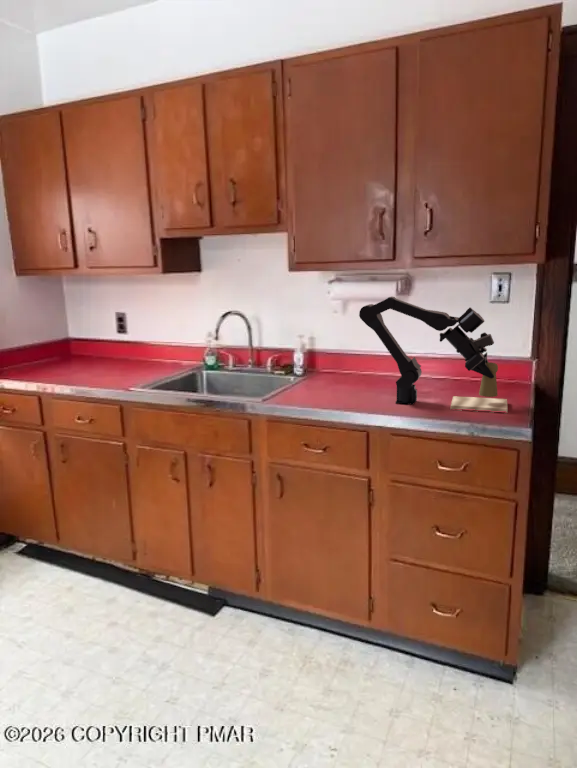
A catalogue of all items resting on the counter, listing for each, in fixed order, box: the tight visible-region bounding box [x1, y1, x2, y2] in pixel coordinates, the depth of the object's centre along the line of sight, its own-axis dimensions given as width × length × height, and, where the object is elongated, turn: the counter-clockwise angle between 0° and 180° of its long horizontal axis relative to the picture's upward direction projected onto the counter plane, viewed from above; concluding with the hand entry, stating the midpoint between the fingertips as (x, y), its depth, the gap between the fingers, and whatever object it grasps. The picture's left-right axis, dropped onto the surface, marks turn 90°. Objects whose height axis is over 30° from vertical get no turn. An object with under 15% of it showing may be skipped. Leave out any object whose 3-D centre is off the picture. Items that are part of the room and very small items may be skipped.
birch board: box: [450, 395, 508, 413], centre depth 195 cm, size 18×13×2 cm
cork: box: [478, 361, 499, 398], centre depth 191 cm, size 6×6×11 cm
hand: (493, 376), depth 190 cm, fingers closed on cork, 5 cm apart
